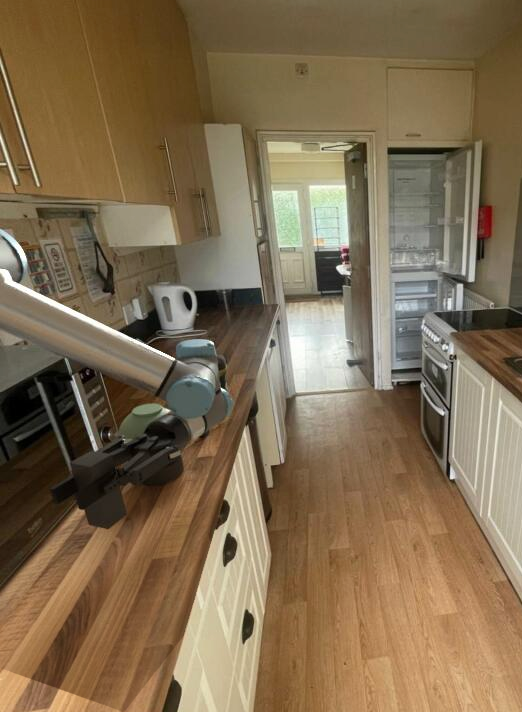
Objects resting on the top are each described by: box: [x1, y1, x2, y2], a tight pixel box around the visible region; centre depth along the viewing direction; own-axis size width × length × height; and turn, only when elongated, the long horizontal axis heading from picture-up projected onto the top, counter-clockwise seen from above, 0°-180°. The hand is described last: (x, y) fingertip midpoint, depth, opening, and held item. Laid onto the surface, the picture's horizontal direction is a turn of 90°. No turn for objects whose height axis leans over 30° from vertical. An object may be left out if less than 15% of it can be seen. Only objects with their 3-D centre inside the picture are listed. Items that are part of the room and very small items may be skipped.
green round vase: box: [117, 403, 185, 486], centre depth 99 cm, size 14×14×17 cm
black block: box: [69, 450, 128, 530], centre depth 70 cm, size 4×4×12 cm
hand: (66, 499), depth 64 cm, fingers closed on black block, 4 cm apart
